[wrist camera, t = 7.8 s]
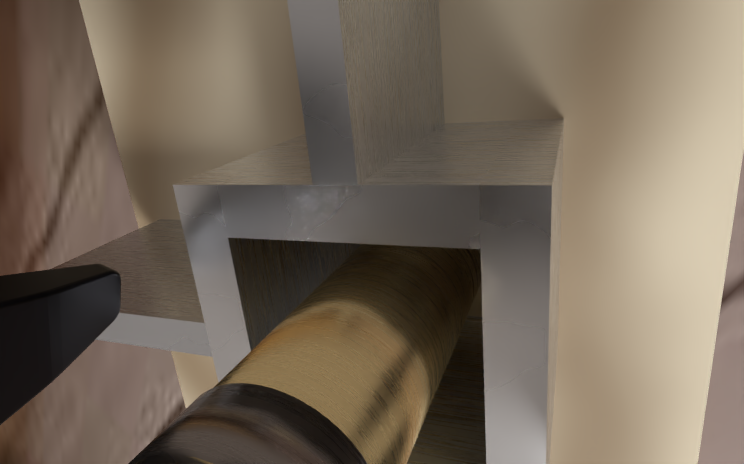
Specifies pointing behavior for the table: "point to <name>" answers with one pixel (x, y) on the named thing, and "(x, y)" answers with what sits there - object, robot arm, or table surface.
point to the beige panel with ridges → (442, 196)
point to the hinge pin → (337, 368)
